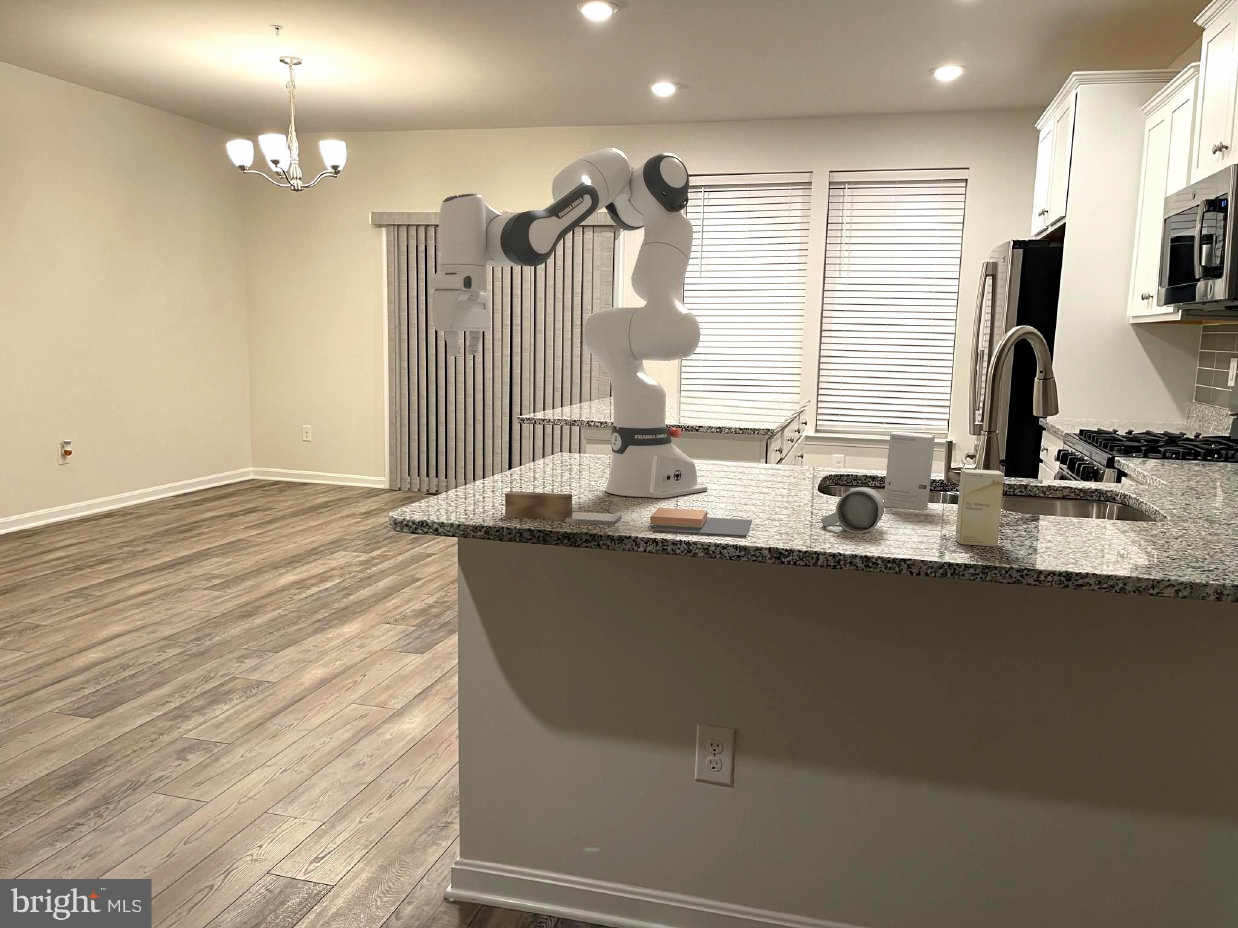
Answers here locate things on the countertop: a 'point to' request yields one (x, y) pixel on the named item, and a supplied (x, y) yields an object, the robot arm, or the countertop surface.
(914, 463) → the skincare box
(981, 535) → the skincare box
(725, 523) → the mat
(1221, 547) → the countertop surface
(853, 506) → the ceramic mug
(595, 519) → the turner
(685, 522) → the tile
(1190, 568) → the countertop surface
